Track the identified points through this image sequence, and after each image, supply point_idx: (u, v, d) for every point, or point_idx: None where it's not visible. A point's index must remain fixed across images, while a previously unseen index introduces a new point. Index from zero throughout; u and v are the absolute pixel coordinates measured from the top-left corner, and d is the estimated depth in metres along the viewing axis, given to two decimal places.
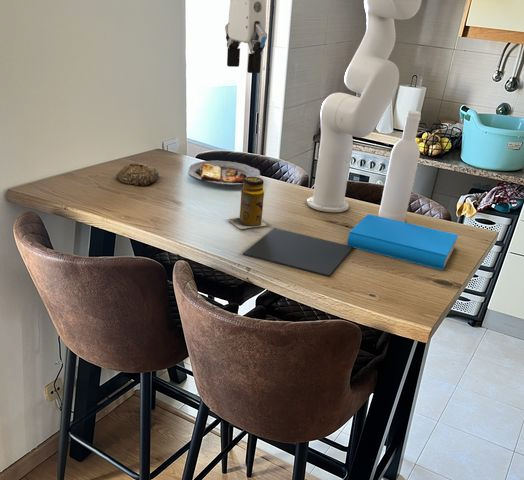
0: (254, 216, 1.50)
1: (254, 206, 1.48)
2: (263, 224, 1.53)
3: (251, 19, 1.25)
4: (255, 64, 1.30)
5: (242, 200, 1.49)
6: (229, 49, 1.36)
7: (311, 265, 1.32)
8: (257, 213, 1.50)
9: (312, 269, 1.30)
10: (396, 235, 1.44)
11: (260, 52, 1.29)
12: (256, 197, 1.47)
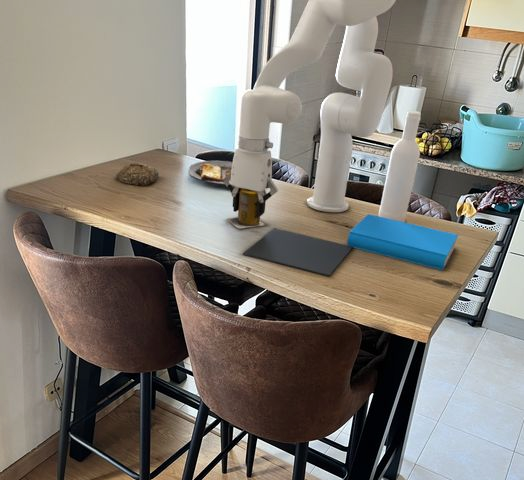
0: (252, 216, 1.50)
1: (252, 205, 1.48)
2: (261, 224, 1.53)
3: (266, 174, 1.43)
4: (263, 209, 1.49)
5: (240, 200, 1.49)
6: (236, 198, 1.50)
7: (311, 265, 1.32)
8: (255, 213, 1.50)
9: (312, 269, 1.30)
10: (396, 235, 1.44)
11: None
12: (254, 197, 1.47)
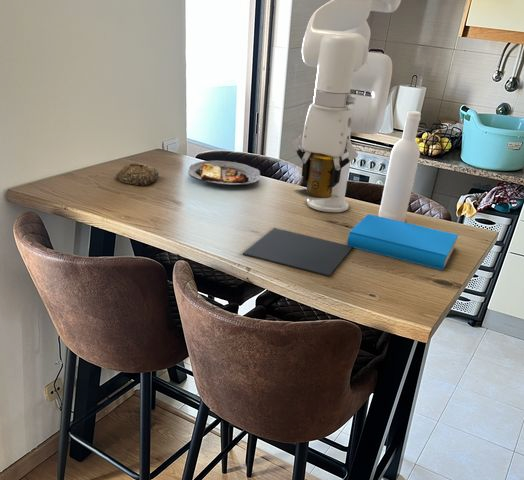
0: (325, 186, 1.29)
1: (326, 173, 1.28)
2: (334, 196, 1.33)
3: (345, 135, 1.22)
4: (338, 178, 1.29)
5: (312, 167, 1.28)
6: (307, 165, 1.29)
7: (311, 265, 1.32)
8: (328, 182, 1.29)
9: (312, 269, 1.30)
10: (396, 235, 1.44)
11: None
12: (329, 164, 1.27)
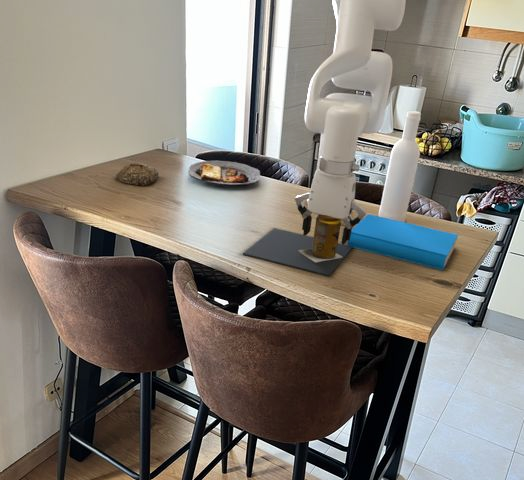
0: (329, 248, 1.35)
1: (330, 236, 1.33)
2: (338, 256, 1.38)
3: (350, 199, 1.27)
4: (349, 236, 1.33)
5: (317, 230, 1.33)
6: (307, 220, 1.34)
7: (311, 265, 1.32)
8: (333, 244, 1.34)
9: (312, 269, 1.30)
10: (396, 235, 1.44)
11: None
12: (334, 228, 1.32)
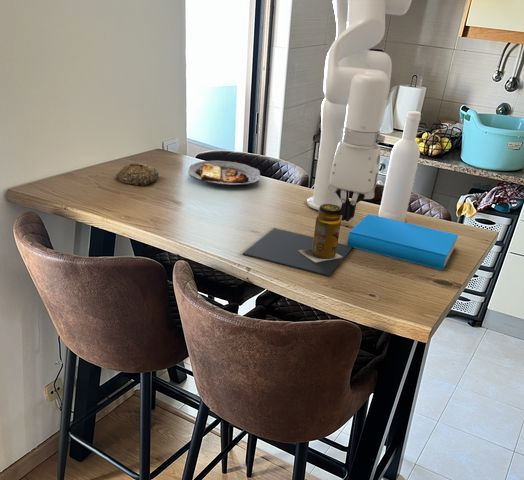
0: (329, 248, 1.35)
1: (330, 236, 1.33)
2: (338, 256, 1.38)
3: (374, 172, 1.22)
4: (353, 213, 1.30)
5: (317, 230, 1.33)
6: (346, 205, 1.28)
7: (311, 265, 1.32)
8: (333, 244, 1.34)
9: (312, 269, 1.30)
10: (396, 235, 1.44)
11: None
12: (334, 228, 1.32)
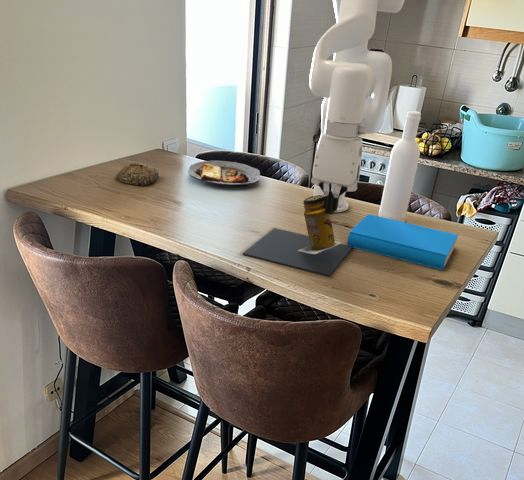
0: (325, 237, 1.34)
1: (322, 225, 1.32)
2: (337, 243, 1.36)
3: (357, 164, 1.22)
4: (336, 206, 1.30)
5: (308, 224, 1.34)
6: (329, 198, 1.28)
7: (311, 265, 1.32)
8: (328, 232, 1.34)
9: (312, 269, 1.30)
10: (396, 235, 1.44)
11: None
12: (322, 215, 1.32)
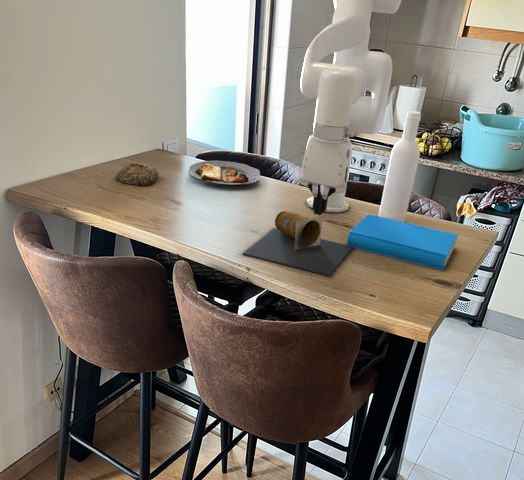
0: (302, 218, 1.40)
1: (294, 216, 1.42)
2: None
3: (344, 167, 1.24)
4: (325, 206, 1.32)
5: (285, 227, 1.43)
6: (318, 199, 1.30)
7: (311, 265, 1.32)
8: (302, 216, 1.41)
9: (312, 269, 1.30)
10: (396, 235, 1.44)
11: None
12: (290, 213, 1.44)
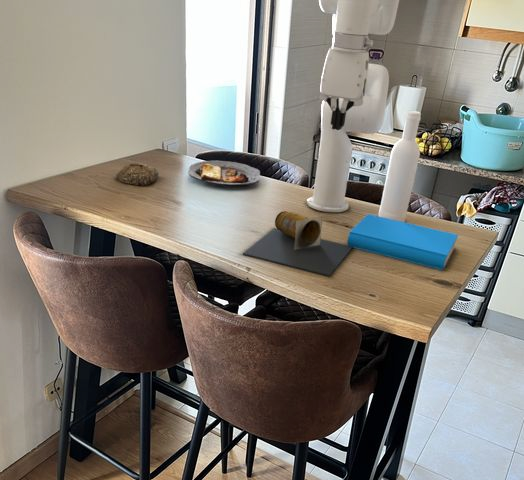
0: (302, 218, 1.40)
1: (294, 216, 1.42)
2: None
3: (363, 77, 1.27)
4: (343, 121, 1.34)
5: (285, 227, 1.43)
6: (336, 113, 1.33)
7: (311, 265, 1.32)
8: (302, 216, 1.41)
9: (312, 269, 1.30)
10: (396, 235, 1.44)
11: (347, 110, 1.34)
12: (290, 213, 1.44)
